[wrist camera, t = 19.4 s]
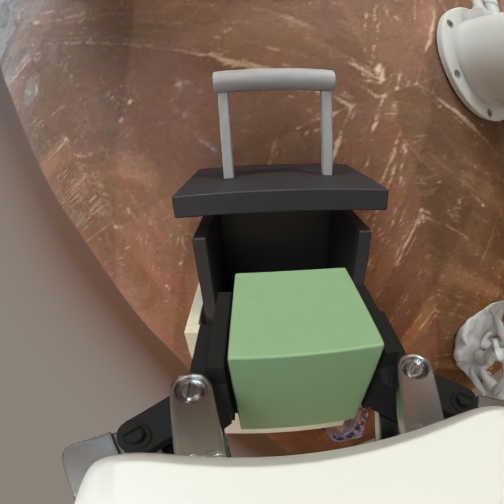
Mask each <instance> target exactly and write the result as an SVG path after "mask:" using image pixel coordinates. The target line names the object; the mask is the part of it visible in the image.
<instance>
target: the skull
mask: <svg viewBox="0 0 504 504" xmlns="http://www.w3.org/2000/svg"><path fill="white" fill-rule="evenodd" d="M364 415H365V416H364ZM367 417H368V411H367V410H366V408H362V406H361V405H360V407H359V409H358V411H357V413H356V415H355V417H354V418H353V419H349V420H345V421H344V423H343V425H340V426H333V427H326V428H325V429H326V434H327V436H328V437H329V438H330V439H331V440H332V441H335V442H342V441H347V440H351V439H356V438H359V437H362V436H363V432H364V428H365V419H366V418H367Z"/></svg>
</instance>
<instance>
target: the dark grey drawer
mask: <svg viewBox="0 0 504 504" xmlns="http://www.w3.org/2000/svg"><path fill="white" fill-rule="evenodd" d="M212 83H213V90H214V93H215V94H218V108H219V122H220V136H221V149H222V162H223V167H221V168H209V169H200V170H198V171H197V172H196V173H195V174H194V175H193V176H192V177H191V178H190V179H189V180H188V181H187V182H186V183H185V184H184V185H183V186H182V187H181V188H180V189H179V190H178V191H177V192H176V193H175V194H174V195H173V196H172V202H173V208H174V215H175V218H182V217H196V216H203V218H202V220H201V222H200V224H199V226H198V228H197V230H196V232H195V234H194V237H193V239H192V242H193V248H194V254H195V260H196V266H197V272H198V278H199V283H200V289H201V294H202V300H203V305H204V310H205V315H206V320H207V324H213V319H214V313H215V307H216V301H217V296H218V292H232V295H233V292H234V281H235V274H237V273H257V272H277V271H296V270H313V269H330V268H346V270H347V272H348V274H349V276H350V278H351V279H352V281H353V283H354V284H364V279H365V273H366V267H367V261H368V254H369V247H370V240H371V230H370V229H369V228H368V227H367V226H366V225H365V224H364V223H363V222H362V221H361V220H360V218H359V217H358V216H357V215H356V214H355V213H354V212H353V211H352V210H386V209H387V201H388V189H387V188H385V187H383V186H382V185H380V184H379V183H377V182H375V181H374V180H372V179H370V178H368V177H367V176H365V175H363V174H362V173H360V172H358V171H356V170H355V169H353V168H351V167H349V166H347V165H346V164H332V156H333V140H332V98H331V92H332V91H334V89H335V85H336V77H335V73H334V71H332V70H323V69H303V68H261V69H241V70H228V71H218V72H213V74H212ZM262 90H311V91H320V112H321V164H276V165H252V166H235V167H234V165H233V151H232V137H231V122H230V107H229V94H228V93H229V92H242V91H262Z"/></svg>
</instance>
